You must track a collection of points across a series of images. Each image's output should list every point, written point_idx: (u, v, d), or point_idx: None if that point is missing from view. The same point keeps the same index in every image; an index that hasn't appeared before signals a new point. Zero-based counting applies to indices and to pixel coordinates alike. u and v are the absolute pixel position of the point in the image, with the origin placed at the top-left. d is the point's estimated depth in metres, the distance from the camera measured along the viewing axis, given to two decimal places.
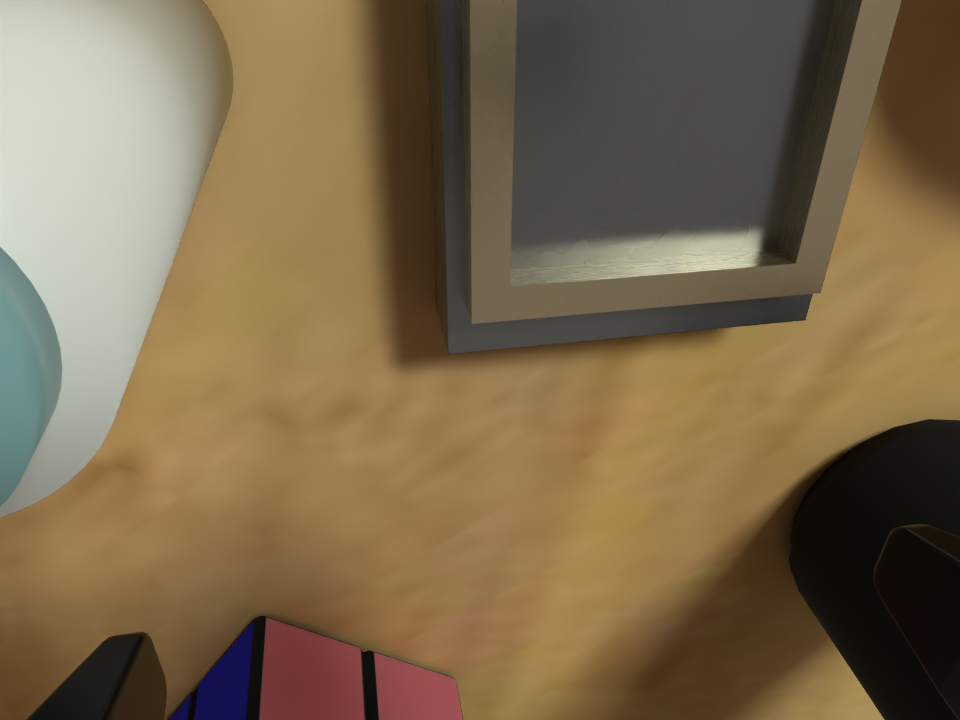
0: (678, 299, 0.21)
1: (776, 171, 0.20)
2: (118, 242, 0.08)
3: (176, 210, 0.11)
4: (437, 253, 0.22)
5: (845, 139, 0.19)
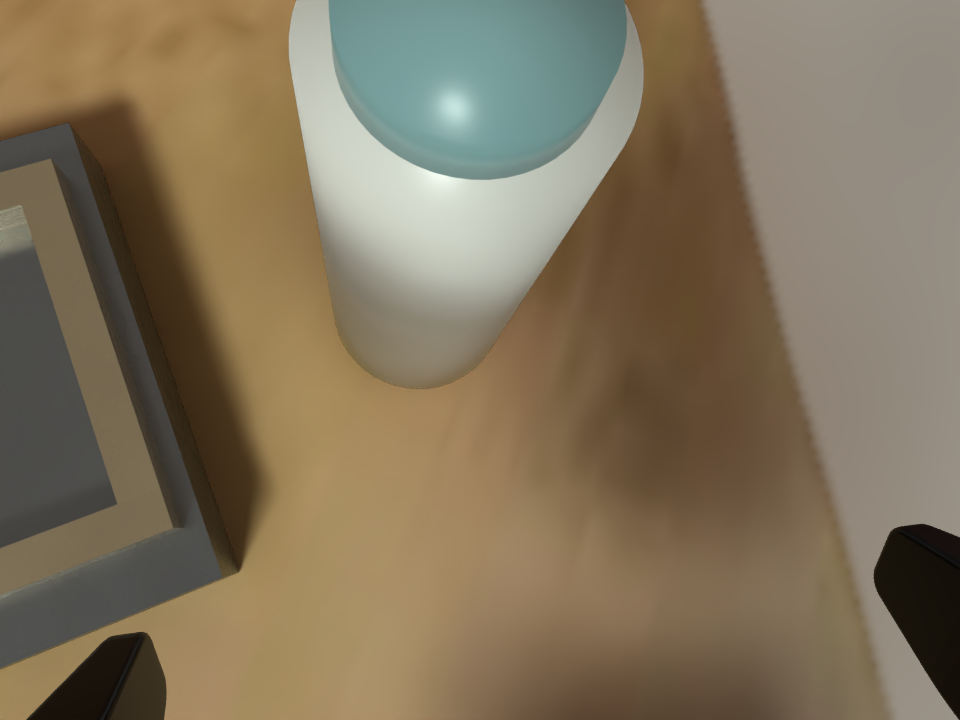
0: None
1: None
2: (319, 162, 0.11)
3: (314, 200, 0.14)
4: (116, 222, 0.22)
5: None
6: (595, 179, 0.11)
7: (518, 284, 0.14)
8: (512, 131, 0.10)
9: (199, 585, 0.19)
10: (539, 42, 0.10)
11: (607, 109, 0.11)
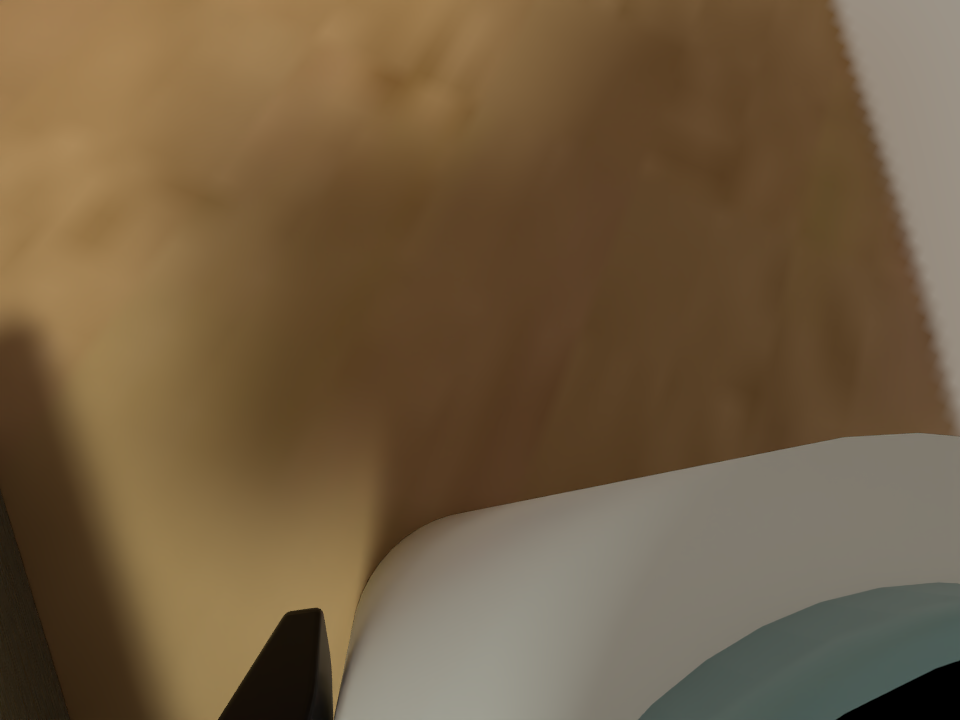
0: None
1: None
2: None
3: None
4: (2, 544, 0.14)
5: None
6: None
7: None
8: None
9: None
10: None
11: None
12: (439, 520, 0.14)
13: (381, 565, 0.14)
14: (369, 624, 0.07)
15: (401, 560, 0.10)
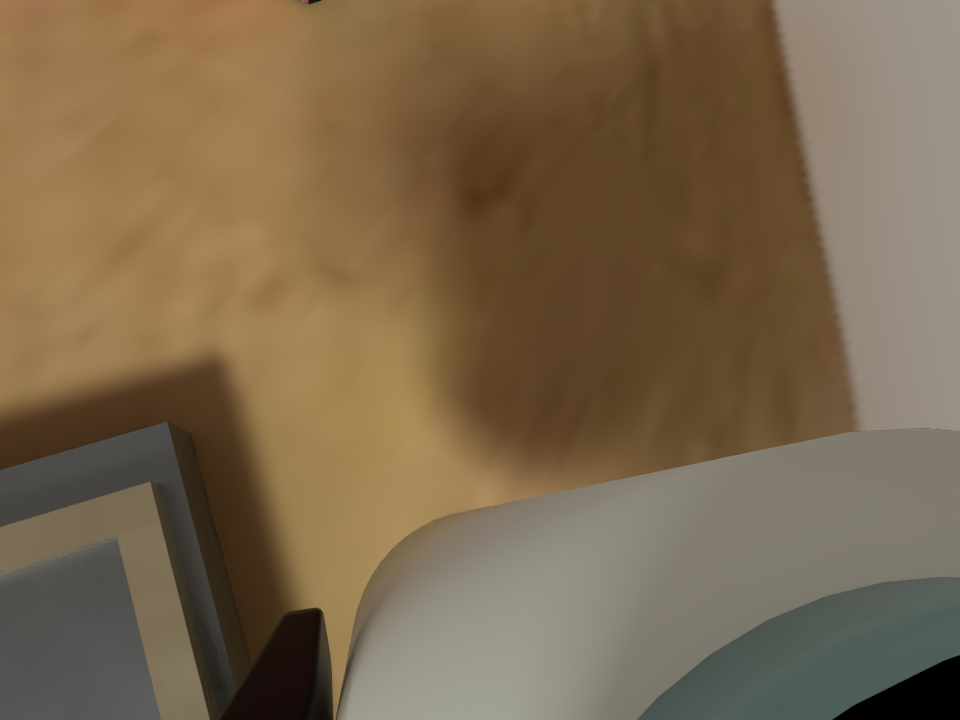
0: None
1: None
2: None
3: None
4: (205, 507, 0.21)
5: None
6: None
7: None
8: None
9: None
10: None
11: None
12: (440, 519, 0.14)
13: (383, 564, 0.14)
14: (372, 621, 0.07)
15: (403, 558, 0.10)
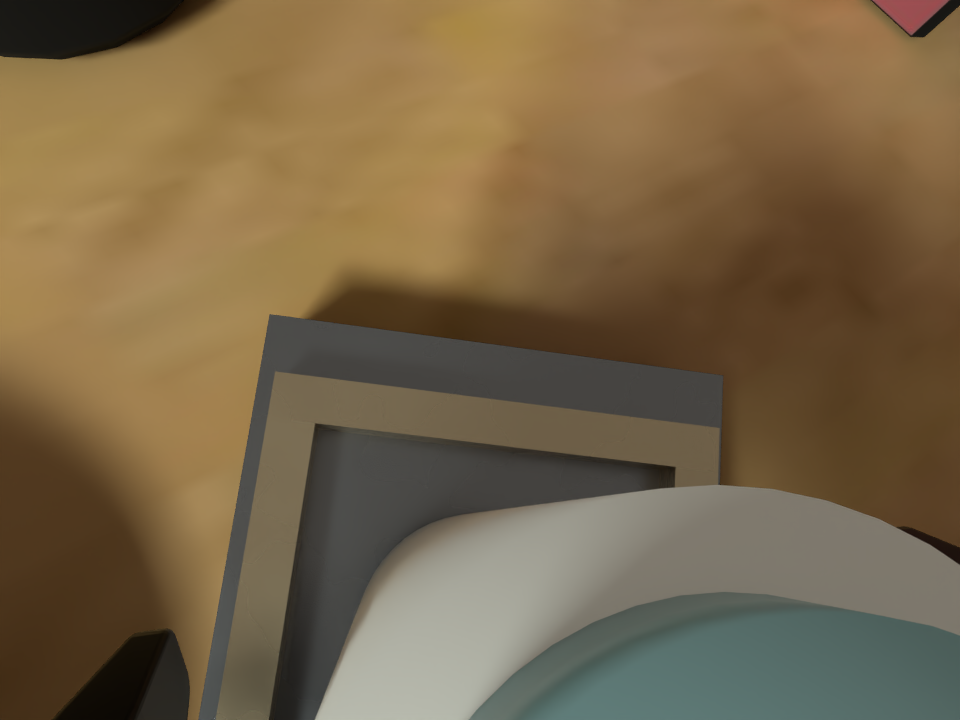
0: (471, 404, 0.17)
1: (328, 534, 0.17)
2: None
3: None
4: None
5: (263, 585, 0.15)
6: None
7: None
8: None
9: None
10: None
11: None
12: (434, 523, 0.15)
13: (381, 564, 0.15)
14: (357, 618, 0.09)
15: (392, 561, 0.11)
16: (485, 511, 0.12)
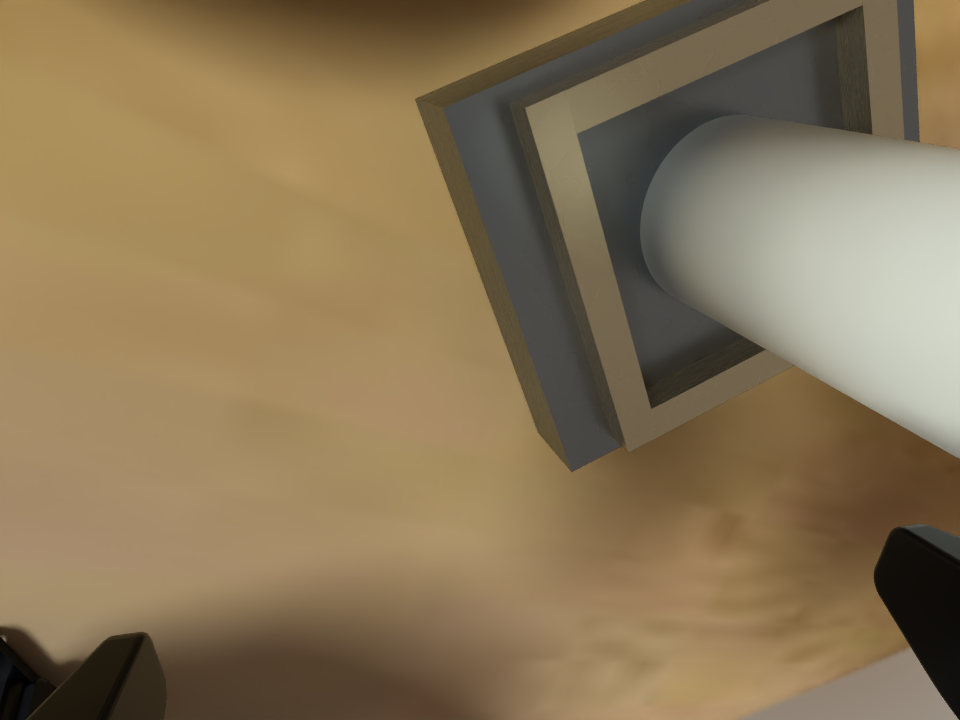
0: (897, 122, 0.20)
1: (761, 62, 0.19)
2: None
3: None
4: None
5: (743, 35, 0.18)
6: None
7: None
8: None
9: (567, 457, 0.22)
10: None
11: None
12: None
13: (795, 122, 0.18)
14: None
15: None
16: None
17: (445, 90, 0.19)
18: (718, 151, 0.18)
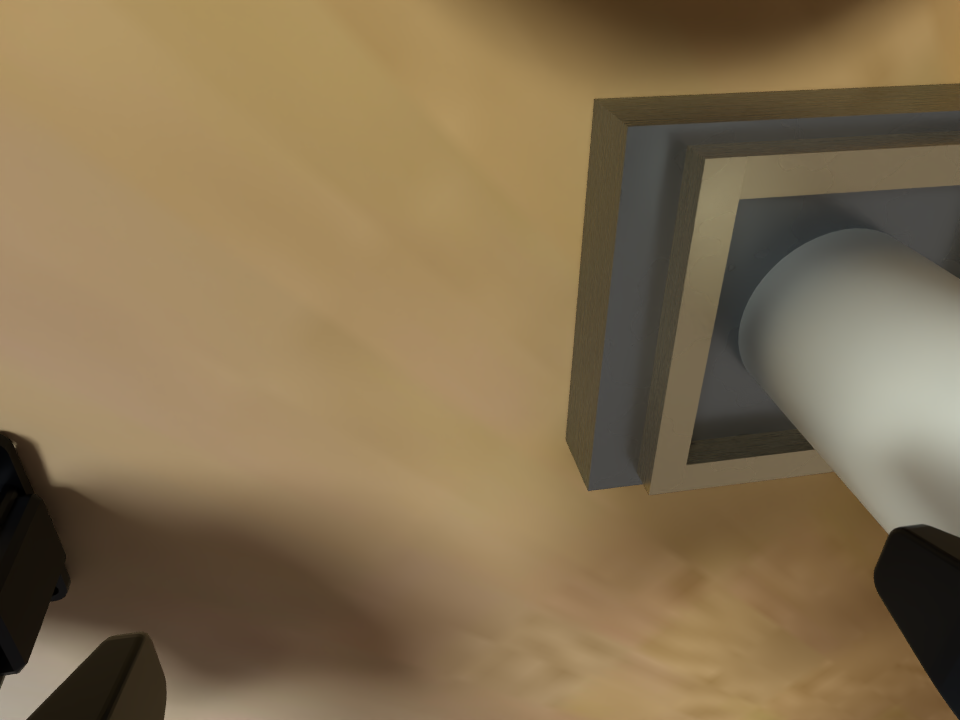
0: None
1: (924, 192, 0.19)
2: None
3: None
4: None
5: (925, 166, 0.18)
6: None
7: None
8: None
9: (590, 477, 0.23)
10: None
11: None
12: None
13: None
14: None
15: None
16: None
17: (627, 104, 0.19)
18: (857, 264, 0.18)
